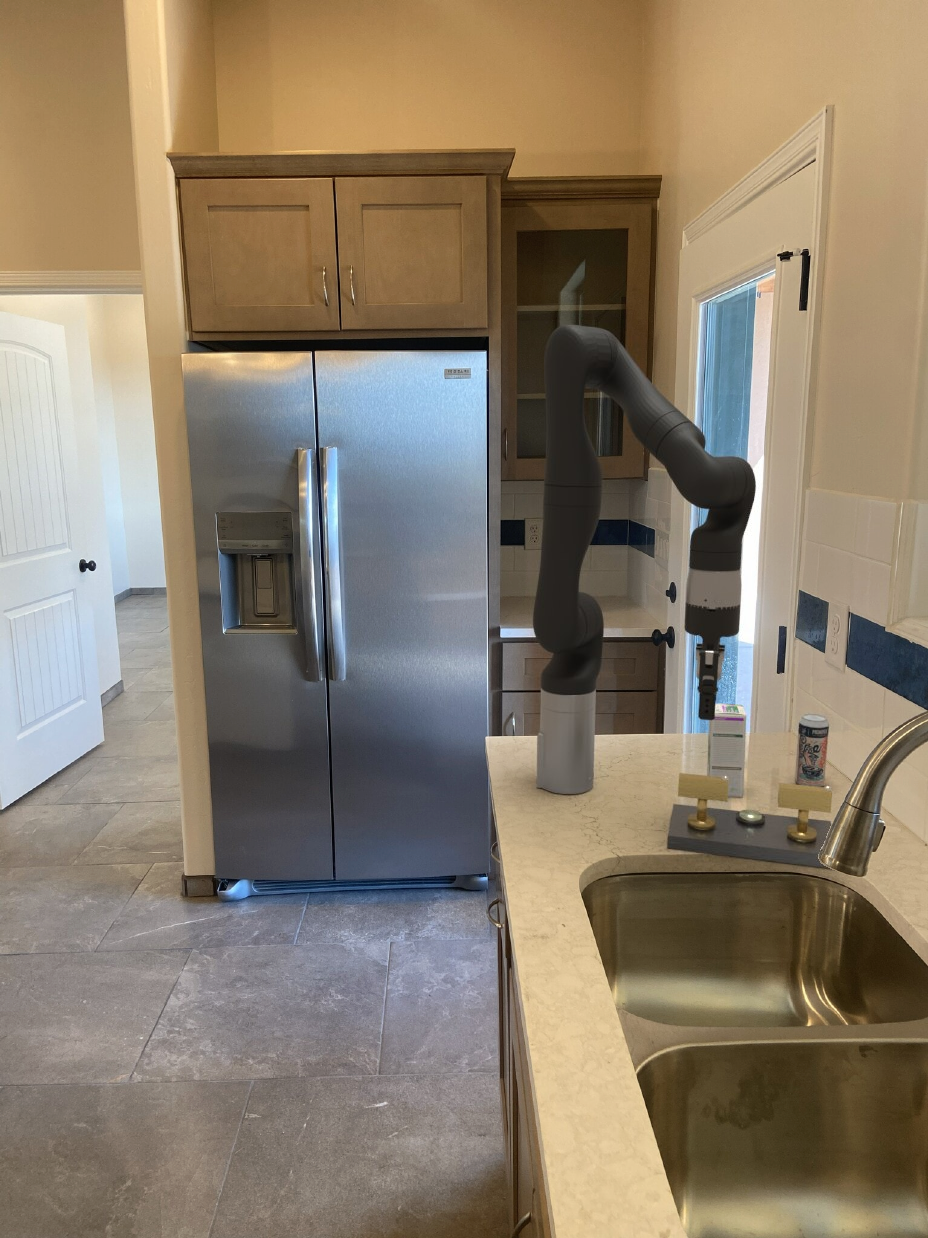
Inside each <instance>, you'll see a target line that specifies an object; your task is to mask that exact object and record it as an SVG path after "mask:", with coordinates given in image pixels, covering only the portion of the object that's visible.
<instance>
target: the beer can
mask: <svg viewBox="0 0 928 1238" xmlns="http://www.w3.org/2000/svg"><path fill="white" fill-rule="evenodd" d="M829 728H830V723H829V721H828V718H827V717H826V716H824V715H820V714H815V713H807V714H803V715H802V716H801V719H799V721H798V733H797V744H796V759H795V770H794V771H795V772H794V781H795V783H796V784H797V785H805V786H815V787H823V786H824V785H825V781H826V765H827V758H828V756H827V755H828V743H829V742H828V741H829V731H830V730H829Z"/></svg>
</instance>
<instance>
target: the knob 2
mask: <svg viewBox="0 0 928 1238" xmlns="http://www.w3.org/2000/svg"><path fill="white" fill-rule="evenodd" d="M777 792H778V794H777V807H778V808H782V809H783V808H785V809H790V810H792V809H793V810H798V811H797V817H798V821H797V825H790V826H788V828H787V836H788V837H789V838H791V839H793V840H795V841H799V842H813V841H815V840H816V838H817V831H816V830H815V829H814V828H812V827H809V826H808V819H809V815H810V814H809V812H810V811H811V812H819V813H830V814H831V813H832V801H833V798H832V797H833V789H832V787H831V786H830V785H825V786H824V787H823V786H821V787H815V786H805V785H799V784H794V783H782V782H778V791H777Z"/></svg>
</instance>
